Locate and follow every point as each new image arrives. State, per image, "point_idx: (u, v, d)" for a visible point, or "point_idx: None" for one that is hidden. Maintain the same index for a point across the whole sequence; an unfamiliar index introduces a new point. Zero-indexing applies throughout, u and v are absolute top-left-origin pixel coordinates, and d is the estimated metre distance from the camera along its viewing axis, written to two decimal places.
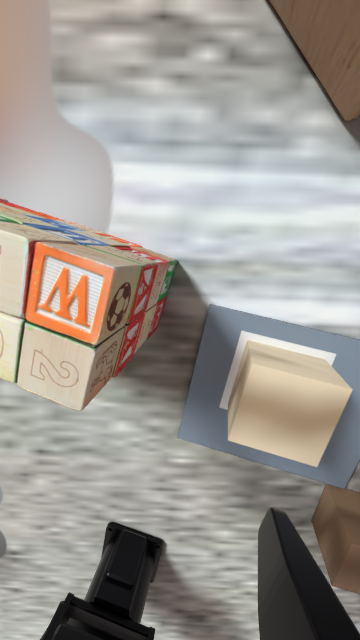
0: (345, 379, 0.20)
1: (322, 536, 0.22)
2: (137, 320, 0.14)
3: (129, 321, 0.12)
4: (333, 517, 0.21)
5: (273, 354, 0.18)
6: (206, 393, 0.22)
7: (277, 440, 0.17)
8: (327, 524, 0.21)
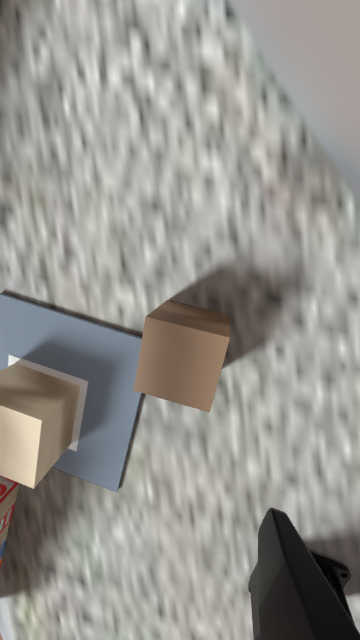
0: (29, 346, 0.21)
1: None
2: None
3: None
4: None
5: None
6: (65, 459, 0.23)
7: (22, 450, 0.17)
8: None
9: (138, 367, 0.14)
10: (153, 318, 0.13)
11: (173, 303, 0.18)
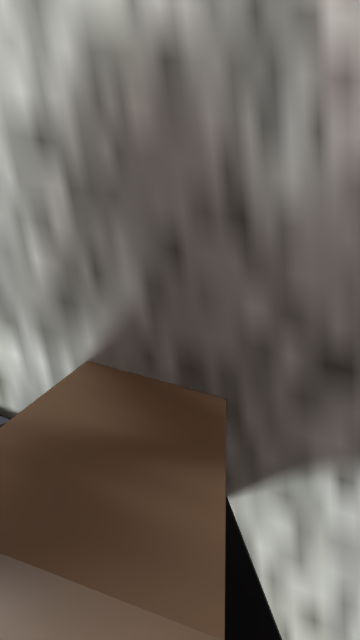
0: None
1: None
2: None
3: None
4: None
5: None
6: None
7: None
8: None
9: None
10: None
11: (96, 372, 0.08)
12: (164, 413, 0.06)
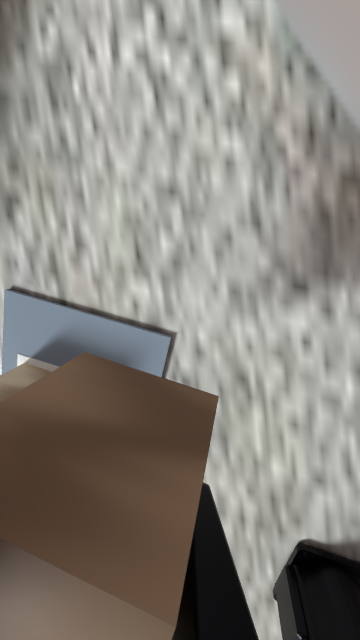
0: (39, 344, 0.20)
1: None
2: None
3: None
4: None
5: None
6: None
7: None
8: None
9: None
10: None
11: (90, 364, 0.08)
12: (152, 406, 0.06)
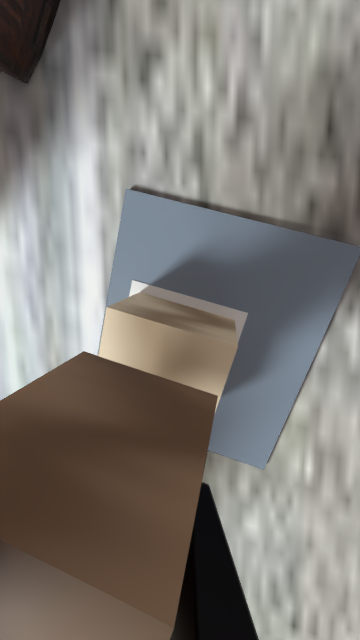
0: (165, 265, 0.15)
1: None
2: None
3: None
4: None
5: None
6: None
7: None
8: None
9: None
10: None
11: (90, 363, 0.08)
12: (151, 405, 0.06)
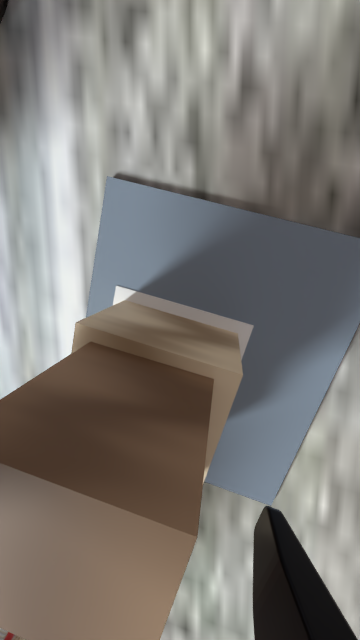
0: (155, 268, 0.13)
1: None
2: None
3: None
4: None
5: None
6: None
7: None
8: None
9: None
10: None
11: (98, 351, 0.08)
12: (158, 386, 0.07)
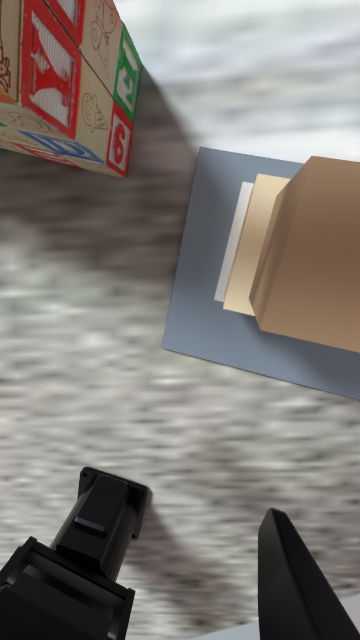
0: None
1: (259, 284, 0.10)
2: (58, 26, 0.09)
3: None
4: (280, 211, 0.09)
5: None
6: (196, 281, 0.17)
7: None
8: (268, 248, 0.09)
9: None
10: None
11: None
12: None
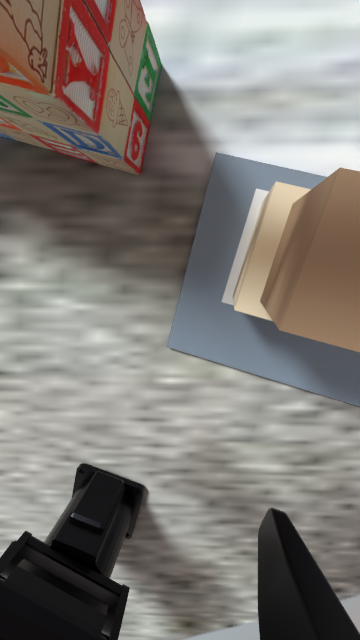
0: None
1: (274, 287, 0.10)
2: (92, 22, 0.09)
3: None
4: (299, 219, 0.09)
5: None
6: (205, 283, 0.17)
7: None
8: (285, 254, 0.10)
9: None
10: None
11: None
12: None
